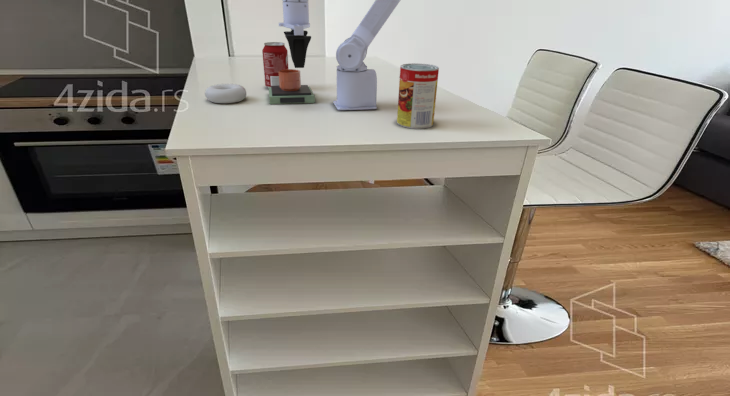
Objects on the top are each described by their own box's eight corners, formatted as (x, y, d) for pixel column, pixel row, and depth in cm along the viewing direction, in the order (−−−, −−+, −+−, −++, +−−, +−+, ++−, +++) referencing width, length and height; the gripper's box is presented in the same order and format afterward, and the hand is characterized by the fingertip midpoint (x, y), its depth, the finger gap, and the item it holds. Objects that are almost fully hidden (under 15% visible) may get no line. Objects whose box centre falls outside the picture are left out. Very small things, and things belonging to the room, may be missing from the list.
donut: (197, 103, 103) (236, 106, 101) (195, 89, 101) (234, 91, 100) (218, 94, 112) (254, 96, 110) (216, 81, 110) (252, 83, 108)
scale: (310, 93, 116) (309, 84, 114) (314, 103, 106) (314, 93, 105) (269, 94, 113) (268, 85, 112) (269, 104, 103) (269, 94, 102)
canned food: (419, 116, 97) (424, 62, 92) (440, 126, 91) (446, 68, 85) (390, 120, 94) (393, 64, 88) (409, 130, 87) (414, 70, 82)
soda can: (287, 90, 117) (284, 45, 112) (262, 90, 117) (259, 44, 112) (291, 85, 123) (289, 42, 118) (268, 85, 123) (264, 41, 118)
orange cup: (299, 86, 111) (299, 69, 109) (301, 91, 107) (301, 72, 105) (279, 87, 110) (277, 69, 108) (280, 91, 106) (278, 73, 104)
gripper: (276, 0, 100) (280, 60, 106) (278, 2, 87) (282, 70, 93) (306, 1, 101) (308, 60, 107) (312, 3, 89) (314, 70, 95)
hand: (298, 64), depth 100 cm, fingers open, 7 cm apart
